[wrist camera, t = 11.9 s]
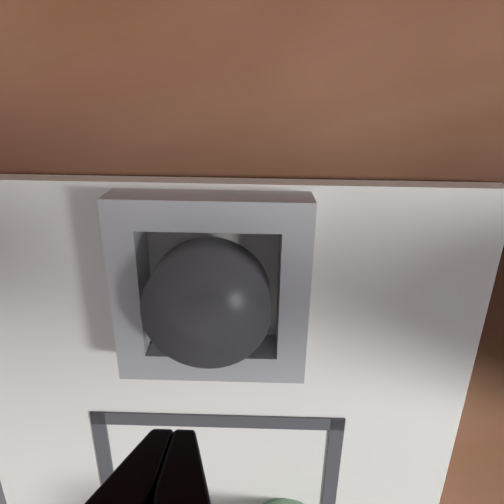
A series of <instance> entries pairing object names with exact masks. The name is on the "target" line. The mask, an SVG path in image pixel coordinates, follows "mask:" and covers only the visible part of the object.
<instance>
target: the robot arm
mask: <svg viewBox="0 0 504 504" xmlns="http://www.w3.org/2000/svg"><path fill="white" fill-rule="evenodd" d="M84 504H211V500H210V496H209V491H208V487H207V482H206V477H205V473H204V468H203V464H202V459H201V455H200V450H199V446H198V441H197V437H196V433H195V431H194V430H182V429H177V430H175V431H174V432H173V431H172V430H171V429H153V430H151V431H150V432H149V433H148V434H147V435H146V436H145V437H144V439H143V440H142V441H141V442H140V443H139V444H138V445H137V446H136V447H135V448H134V449H133V451H132V452H131V453H130V454H129V455H128V456H127V457H126V458H125V459H124V460H123V462H122V463H121V464H120V465H119V466H118V467H117V468H116V469H115V470H114V471H113V473H112V474H111V475H110V476H109V477H108V478H107V479H106V480H105V481H104V482H103V484H102V485H101V486H100V487H99V488H98V489H97V490H96V491H95V492H94V493H93V495H92V496H91V497H90V498H89V499H88V500H87V501H86V502H85V503H84Z"/></svg>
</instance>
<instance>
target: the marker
mask: <svg viewBox="0 0 504 504" xmlns="http://www.w3.org/2000/svg"><path fill="white" fill-rule="evenodd" d="M263 504H304V503H302V502H300V501H297V500H294V499H287V498H279V499H273V500H269V501H267V502H264V503H263Z"/></svg>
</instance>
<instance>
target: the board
mask: <svg viewBox="0 0 504 504" xmlns="http://www.w3.org/2000/svg"><path fill="white" fill-rule="evenodd" d="M198 237H218V238H223V239H227V240H230V241H233V242H235V243H237V244H239V245H241V246H243V247H244V248H246V249H247V250H249V251H250V252H251V253H252V254H253V255H254V256H255V257H256V258H257V259H258V260H259V262H260V263H261V265H262V266H263V268H264V270H265V272H266V274H267V277H268V281H269V286H270V309H271V319H270V325H269V329H268V332H267V334H266V337H265V339H264V340H263V342H262V343H261V345H260V346H259V347H258V348H257V350H255V351H254V352H253V353H252V354H251V355H250V356H248V357H247V358H245V359H244V360H242V361H240V362H238V363H236V364H233V365H230V366H227V367H222V368H215V369H204V368H196V367H191V366H187V365H184V364H182V363H179V362H177V361H175V360H173V359H171V358H170V357H168V356H167V355H165V354H164V353H162V352H161V351H160V350H159V349H158V348H157V347H156V346H155V345H154V344H153V342H152V341H151V340H150V338H149V337H148V335H147V333H146V331H145V329H144V327H143V324H142V320H141V314H140V303H141V297H142V293H143V290H144V288H145V286H146V284H147V282H148V280H149V279H150V277H151V275H152V274H153V272H154V270H155V268H156V267H157V265H158V263H159V262H160V260H161V259H162V257H163V256H164V255H165V254H166V253H167V252H168V251H169V250H171V249H172V248H173V247H175V246H176V245H178V244H180V243H182V242H184V241H186V240H190V239H193V238H198ZM503 246H504V183H502V182H448V181H390V180H333V179H275V178H217V177H159V176H101V175H43V174H0V482H1V486H2V489H3V493H4V496H5V499H6V503H7V504H84V503H85V502H86V501H87V500H88V499H89V498H90V497H91V496H92V495H93V493H94V492H95V491H96V490H97V489H98V488H99V487H100V486H101V485H102V484H103V482H104V481H105V480H106V479H107V478H108V477H109V476H110V475H111V474H112V473H113V471H114V470H115V469H116V468H117V467H118V466H119V465H120V464H121V463H122V462H123V460H124V459H125V458H126V457H127V456H128V455H129V454H130V453H131V452H132V451H133V449H134V448H135V447H136V446H137V445H138V444H139V443H140V442H141V441H142V440H143V439H144V437H145V436H146V435H147V434H148V433H149V432H150V431H151V430H153V429H171V430H172V431H173V432H174V431H175V430H177V429H182V430H194V431H195V433H196V437H197V441H198V446H199V450H200V455H201V459H202V464H203V468H204V473H205V477H206V482H207V487H208V491H209V496H210V500H211V504H263V503H264V502H267V501H269V500H273V499H279V498H287V499H294V500H297V501H300V502H302V503H304V504H439V502H440V498H441V494H442V490H443V486H444V482H445V478H446V474H447V470H448V466H449V462H450V458H451V454H452V450H453V446H454V442H455V438H456V434H457V430H458V426H459V422H460V418H461V414H462V410H463V406H464V402H465V398H466V394H467V390H468V386H469V382H470V378H471V374H472V370H473V366H474V362H475V358H476V354H477V350H478V346H479V342H480V338H481V334H482V330H483V326H484V322H485V318H486V314H487V310H488V306H489V302H490V298H491V294H492V290H493V286H494V282H495V278H496V274H497V270H498V266H499V262H500V258H501V254H502V250H503Z"/></svg>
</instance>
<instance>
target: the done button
mask: <svg viewBox="0 0 504 504" xmlns="http://www.w3.org/2000/svg"><path fill="white" fill-rule="evenodd" d="M140 314H141V320H142V324H143V327H144V329H145V331H146V333H147V335H148V337H149V338H150V340H151V341H152V342H153V344H154V345H155V346H156V347H157V348H158V349H159V350H160V351H161V352H162V353H164V354H165V355H167V356H168V357H170V358H171V359H173V360H175V361H177V362H179V363H182V364H184V365H187V366H191V367H196V368H204V369H215V368H222V367H227V366H230V365H233V364H236V363H238V362H240V361H242V360H244V359H245V358H247V357H248V356H250V355H251V354H252V353H253V352H254V351H255V350H257V348H258V347H259V346H260V345H261V343H262V342H263V340H264V339H265V337H266V334H267V332H268V329H269V325H270V319H271V309H270V286H269V281H268V277H267V274H266V272H265V270H264V268H263V266H262V265H261V263H260V262H259V260H258V259H257V258H256V257H255V256H254V255H253V254H252V253H251V252H250V251H249V250H247V249H246V248H244V247H243V246H241V245H239V244H237V243H235V242H233V241H230V240H227V239H223V238H218V237H198V238H193V239H190V240H186V241H184V242H182V243H180V244H178V245H176V246H175V247H173V248H172V249H171V250H169V251H168V252H167V253H166V254H165V255H164V256H163V257H162V259H161V260H160V262H159V263H158V265H157V267H156V268H155V270H154V272H153V274H152V275H151V277H150V279H149V280H148V282H147V284H146V286H145V288H144V290H143V293H142V297H141V303H140Z"/></svg>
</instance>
